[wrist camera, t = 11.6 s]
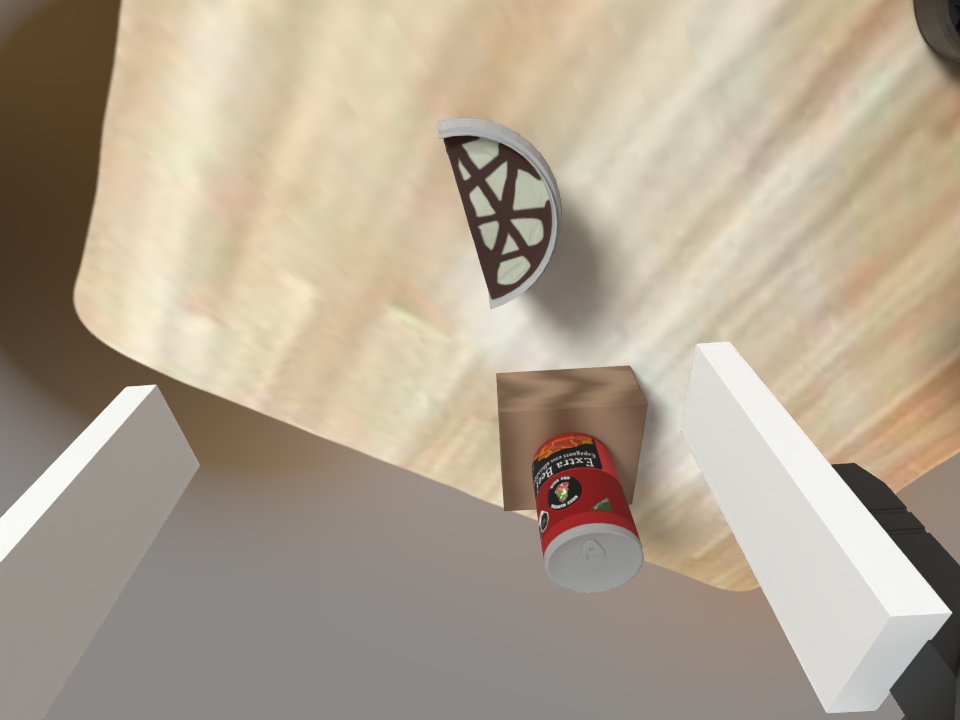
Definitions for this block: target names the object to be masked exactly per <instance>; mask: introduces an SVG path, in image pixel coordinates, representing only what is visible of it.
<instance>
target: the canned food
mask: <svg viewBox="0 0 960 720" xmlns="http://www.w3.org/2000/svg"><path fill="white" fill-rule="evenodd" d="M532 478H533V485H534V493H535V500H536V508H537V515H538V523H539V530H540V538H541V545H542V551H543V557H544V563H545V567H546V571H547V574H548V575H549V577H550V578H551V580H552V581H553V582H554V583H556V584H558V585H559V586H561V587H563V588H565V589H568V590H572V591H575V592H583V593H594V592H601V591H606V590H610V589H613V588H616V587H619V586H621V585H623V584H624V583H626V582H628V581H629V580H630V579H632V578H633V577H634V576H635V575H636V574H637V573H638V572H639V570H640V568H641V567H642V564H643V560H644V556H643V551H642V545H641V542H640V539H639V535H638V532H637V529H636V526H635V524H634V521H633V518H632V515H631V512H630V509H629V506H628V503H627V500H626V497H625V494H624V491H623V488H622V485H621V482H620V479H619V476H618V473H617V470H616V467H615V464H614V461H613V458H612V456H611V453H610V452H609V450H608V449H607V448H606V446H605V445H604V444H603V443H602V442H601V441H600V440H599V439H597V438H595V437H594V436H591V435H588V434H585V433H579V432H571V433H564V434H560V435H557V436H555V437H553V438H551V439H549V440H547V441H546V442H545V443H543V444H542V445H541V446H540V447H539V449H538V450H537V452H536V453H535V456H534V459H533V463H532Z"/></svg>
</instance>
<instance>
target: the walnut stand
mask: <svg viewBox="0 0 960 720" xmlns="http://www.w3.org/2000/svg"><path fill="white" fill-rule="evenodd" d="M496 375H497V395H498V414H499V434H500V453H501V472H502V486H503V500H504V511H514V510H533V509H537V508H536V500H535V493H534V485H533V478H532V463H533V459H534V456H535V453H536V452H537V450H538V449H539V447H540V446H541V445H542V444H543V443H545V442H546V441H547V440H549V439H551V438H553V437H555V436H557V435H560V434H564V433H571V432H579V433H585V434H588V435H591V436H594V437H595V438H597V439H599V440H600V441H601V442H602V443H603V444H604V445H605V446H606V448H607V449H608V450H609V452H610V453H611V456H612V458H613V461H614V464H615V467H616V470H617V473H618V476H619V479H620V482H621V485H622V488H623V491H624V494H625V497H626V500H627V503H628V504H632V500H633V494H634V487H635V481H636V475H637V468H638V462H639V455H640V449H641V443H642V436H643V430H644V424H645V417H646V411H647V402H646V400H645V398H644V395H643V393H642V391H641V389H640V387H639V385H638V383H637V381H636V378H635V376H634V374H633V372H632V370H631V368H630V366H616V367H599V368H582V369H565V370H548V371H530V372H513V373H496Z"/></svg>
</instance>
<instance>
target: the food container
mask: <svg viewBox="0 0 960 720" xmlns="http://www.w3.org/2000/svg"><path fill="white" fill-rule="evenodd" d="M438 131H439V139H441V138H444V143H445V146H446V151H447V154H448V156H449V159H450V162H451V165H452V168H453V172H454V175H455V179H456V182H457V186H458V189H459V192H460V196H461V199H462V202H463V206H464V209H465V213H466V217H467V220H468V224H469V227H470V230H471V234H472V237H473V240H474V243H475V247H476V250H477V253H478V257H479V260H480V264H481V267H482V271H483V274H484V277H485V281H486V284H487V287H488V292H489V301H490V308H491V309H492V308H495V307H498V306H501V305H503V304H505V303H507V302H509V301H511V300H513V299H515V298H516V297H518V296H519V295H520V294H522V293H523V292H525V291H526V290H527V289H528V288H529V287H530V286H531V285H532V284H533V283H534V282H535V281H536V280H537V279H538V278H539V277H540V275H541V274H542V273H543V272H544V270H545V268H546V267H547V265H548V263H549V262H550V260H551V258H552V255H553V253H554V250H555V248H556V244H557V240H558V235H559V230H560V225H561V201H560V194H559V190H558V186H557V183H556V180H555V177H554V175H553V173H552V171H551V169H550V167H549V165H548V164H547V162H546V161H545V159H544V158H543V156H542V155H541V153H540V152H539V151H538V150H537V149H536V148H535V147H534V146H533V145H532V144H531V143H530V142H529V141H528V140H526V139H525V138H524V137H522V136H521V135H520V134H518V133H517V132H515V131H513V130H511V129H509V128H507V127H505V126H503V125H501V124H498V123H494V122H491V121H488V120H483V119H475V118H455V119H448V120H444V121H439V122H438Z"/></svg>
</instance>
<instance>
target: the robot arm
mask: <svg viewBox="0 0 960 720" xmlns="http://www.w3.org/2000/svg"><path fill="white" fill-rule="evenodd" d="M914 5H915V11H916V17H917V20H918V24H919V26H920V29H921V31H922V33H923V35H924V37H925V39H926V40H927V42H928V43H929V44H930V45H931V47H932V48H933V49H934V50H935V51H936V52H937V53H939V54H940V55H941V56H943V57H944V58H946V59H948V60H950V61H952V62H955V63H957V64H960V0H914ZM680 432H681V434H682V436H683V438H684V439H685V441H686V443H687V445H688V447H689V449H690V451H691V453H692V455H693V457H694V459H695V461H696V463H697V465H698V466H699V468H700V470H701V472H702V474H703V476H704V478H705V480H706V482H707V484H708V486H709V488H710V490H711V491H712V493H713V495H714V497H715V499H716V501H717V503H718V505H719V507H720V509H721V511H722V513H723V515H724V517H725V518H726V520H727V522H728V524H729V526H730V528H731V530H732V532H733V534H734V536H735V538H736V540H737V542H738V544H739V545H740V547H741V549H742V551H743V553H744V555H745V557H746V559H747V561H748V563H749V565H750V567H751V569H752V571H753V572H754V574H755V576H756V578H757V580H758V582H759V584H760V586H761V588H762V590H763V592H764V594H765V596H766V598H767V599H768V601H769V603H770V605H771V607H772V609H773V611H774V613H775V615H776V617H777V619H778V621H779V623H780V624H781V626H782V628H783V630H784V632H785V634H786V636H787V638H788V640H789V642H790V644H791V646H792V647H793V650H794V651H795V653H796V655H797V657H798V659H799V661H800V663H801V665H802V667H803V669H804V671H805V673H806V675H807V677H808V678H809V680H810V682H811V684H812V686H813V688H814V690H815V692H816V694H817V696H818V697H819V700H820V702H821V703H822V705H823V707H824V709H825V711H826V713H836V712H856V711H874V710H877V709H878V707H879V706H880V705H881V703H882V702H883V701H884V700H885V698H886V697H887V696H888V695H889V693H890V692H891V694H892V695H893V697H894V699H895V700H896V702H897V703H898V705H899V706H900V708H901V710H902V711H903V713H904V714H905V716H904V717H903V719H902V720H960V566H959V564H958V563H957V562H956V561H955V560H954V559H953V558H952V557H951V556H950V554H949V553H948V552H947V551H946V550H945V549H944V548H943V547H942V546H941V545H940V543H939V542H938V541H937V540H936V539H935V538H934V537H933V536H932V535H931V534H930V533H927V532H926V531H925V527H924V526H923V525H922V524H921V523H920V521H919V520H918V519H917V518H916V517H915V516H914V515H913V514H912V513H911V512H907V509H906V508H907V507H906V506H905V505H904V504H903V503H902V502H901V501H900V499H899V498H898V497H897V496H896V495H895V494H894V493H893V492H892V491H891V489H890V488H889V487H888V486H887V485H886V484H885V483H884V482H882V481H881V480H879V479H878V478H876V477H875V476H873V475H872V474H870V473H869V472H867V471H866V470H864V469H863V468H861V467H860V466H858V465H857V464H855V463H848V464H833V465H830V464H829V462H828V461H827V460H826V459H825V458H824V456H823V455H822V454H821V453H820V451H819V450H818V449H817V448H816V447H815V445H814V444H813V443H812V442H811V441H810V439H809V438H808V437H807V436H806V434H805V433H804V432H803V431H802V430H801V428H800V427H799V426H798V425H797V424H796V422H795V421H794V420H793V419H792V417H791V416H790V415H789V414H788V413H787V411H786V410H785V409H784V408H783V406H782V405H781V404H780V403H779V402H778V400H777V399H776V398H775V397H774V396H773V394H772V393H771V392H770V391H769V389H768V388H767V387H766V386H765V385H764V383H763V382H762V381H761V380H760V379H759V377H758V376H757V375H756V374H755V372H754V371H753V370H752V369H751V368H750V366H749V365H748V364H747V363H746V362H745V360H744V359H743V358H742V357H741V355H740V354H739V353H738V352H737V351H736V349H735V348H734V347H733V346H732V344H731V343H730V342H716V343H703V344H696V349H695V354H694V360H693V365H692V371H691V376H690V382H689V387H688V393H687V398H686V403H685V409H684V414H683V420H682V425H681V431H680ZM199 466H200V464H199V463H198V461H197V459H196V457H195V455H194V453H193V451H192V449H191V448H190V446H189V444H188V443H187V440H186V438H185V436H184V435H183V433H182V431H181V429H180V427H179V425H178V424H177V422H176V420H175V418H174V416H173V414H172V412H171V410H170V409H169V407H168V405H167V403H166V401H165V399H164V397H163V396H162V394H161V392H160V390H159V388H158V386H157V385H147V386H133V387H126V388H125V389H124V390H123V391H122V392H121V393H120V394H119V395H118V396H117V397H116V398H115V399H114V400H113V402H112V403H111V404H110V405H109V406H108V407H107V408H106V409H105V410H104V411H103V412H102V413H101V414H100V415H99V416H98V417H97V418H96V419H95V420H94V421H93V423H92V424H90V425H89V426H88V428H87V429H86V430H85V431H84V432H83V433H82V434H81V435H80V436H79V437H78V438H77V439H76V440H75V441H74V442H73V443H72V444H71V445H70V446H69V448H67V450H65V452H64V453H63V454H62V455H61V456H60V457H59V458H58V459H57V460H56V461H55V462H54V463H53V464H52V465H51V466H50V467H49V468H48V469H47V471H45V472H44V473H43V475H42V476H41V477H40V478H39V479H38V480H37V481H36V482H35V483H34V484H33V485H32V486H31V487H30V488H29V489H28V490H27V491H26V492H25V493H24V494H23V495H22V496H21V498H20V499H19V500H18V501H17V502H16V503H15V504H14V505H13V506H12V507H11V508H10V509H9V510H8V511H7V512H6V513H5V514H4V515H3V516H2V517H1V518H0V720H43V718H44V716H45V715H46V713H47V711H48V710H49V708H50V707H51V705H52V703H53V702H54V700H55V699H56V697H57V695H58V694H59V692H60V690H61V689H62V687H63V686H64V684H65V682H66V681H67V679H68V677H69V676H70V674H71V673H72V671H73V670H74V668H75V666H76V665H77V663H78V661H79V660H80V658H81V657H82V655H83V653H84V652H85V650H86V648H87V647H88V645H89V644H90V642H91V640H92V639H93V637H94V635H95V634H96V632H97V631H98V629H99V627H100V626H101V624H102V623H103V621H104V619H105V618H106V616H107V615H108V613H109V611H110V610H111V608H112V606H113V605H114V603H115V602H116V600H117V598H118V597H119V595H120V593H121V592H122V590H123V589H124V587H125V585H126V584H127V582H128V581H129V579H130V577H131V576H132V574H133V572H134V571H135V569H136V568H137V566H138V564H139V563H140V561H141V560H142V558H143V556H144V555H145V553H146V552H147V550H148V548H149V547H150V545H151V543H152V542H153V540H154V539H155V537H156V535H157V534H158V532H159V531H160V529H161V527H162V526H163V524H164V522H165V521H166V519H167V517H168V516H169V514H170V513H171V511H172V510H173V508H174V506H175V505H176V503H177V501H178V500H179V498H180V497H181V495H182V493H183V492H184V490H185V488H186V487H187V485H188V484H189V482H190V480H191V479H192V477H193V475H194V474H195V472H196V471H197V469H198V468H199Z"/></svg>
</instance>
